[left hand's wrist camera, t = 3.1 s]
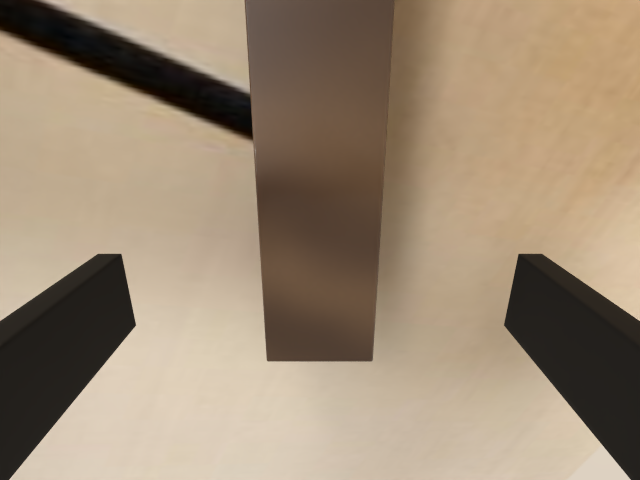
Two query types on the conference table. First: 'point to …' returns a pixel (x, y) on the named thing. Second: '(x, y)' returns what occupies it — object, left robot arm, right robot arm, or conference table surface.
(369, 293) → the beam
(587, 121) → the conference table surface
